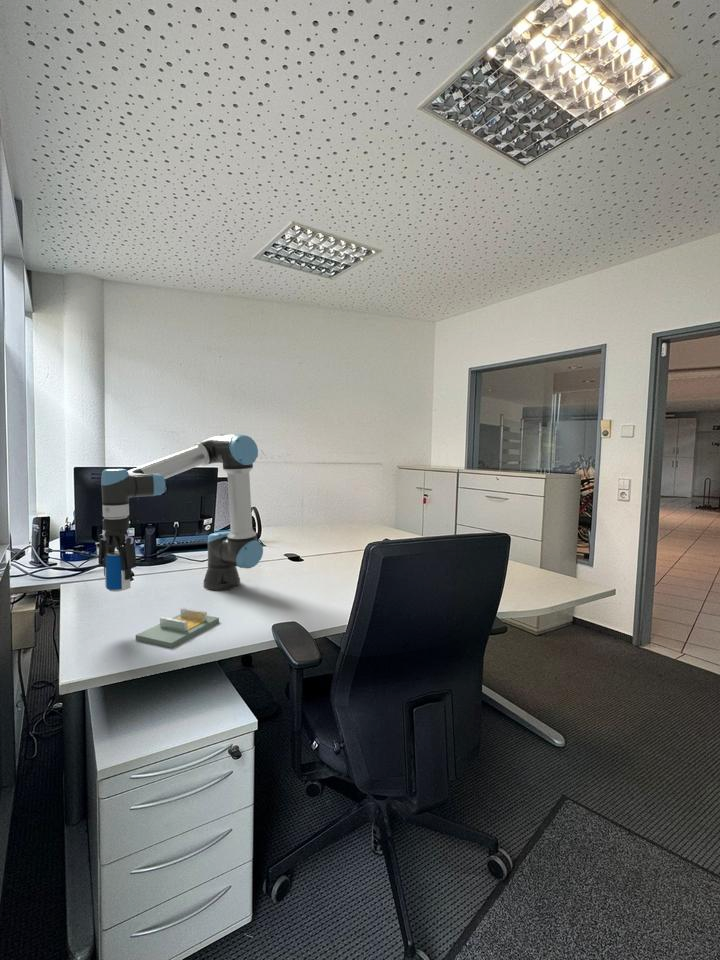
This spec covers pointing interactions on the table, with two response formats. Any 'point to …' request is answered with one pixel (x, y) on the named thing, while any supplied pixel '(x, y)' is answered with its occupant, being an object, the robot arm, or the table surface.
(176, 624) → the chute bracket
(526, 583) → the table surface
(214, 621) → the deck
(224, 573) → the robot arm
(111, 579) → the beverage can
